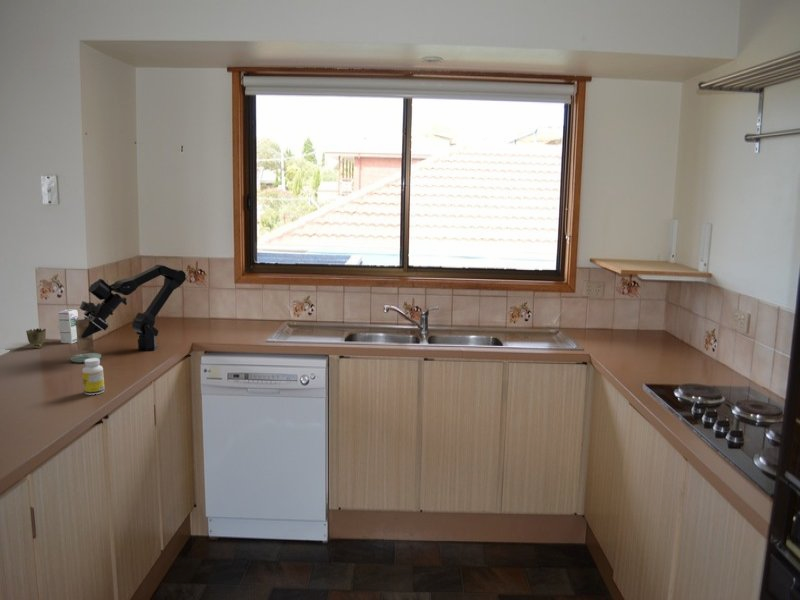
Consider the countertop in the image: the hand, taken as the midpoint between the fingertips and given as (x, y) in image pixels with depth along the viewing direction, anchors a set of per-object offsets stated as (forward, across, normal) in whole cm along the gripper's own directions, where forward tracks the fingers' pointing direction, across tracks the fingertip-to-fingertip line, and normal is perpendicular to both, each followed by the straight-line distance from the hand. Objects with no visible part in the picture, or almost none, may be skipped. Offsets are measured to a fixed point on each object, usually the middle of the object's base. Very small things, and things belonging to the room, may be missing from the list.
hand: (81, 336), depth 267 cm
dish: (+6, 0, +8) cm, 10 cm away
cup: (+16, -33, -1) cm, 37 cm away
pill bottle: (+11, +47, +4) cm, 49 cm away
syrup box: (+6, -37, +8) cm, 38 cm away
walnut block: (+4, 0, +6) cm, 7 cm away
